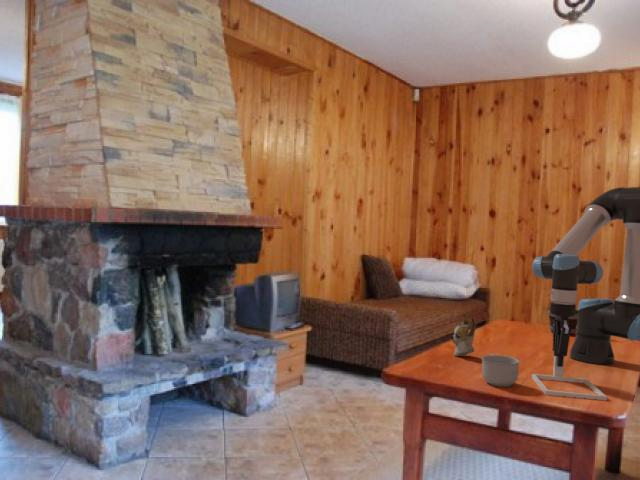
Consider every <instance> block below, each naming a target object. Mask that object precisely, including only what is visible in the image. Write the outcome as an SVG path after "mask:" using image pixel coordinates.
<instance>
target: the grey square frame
mask: <svg viewBox="0 0 640 480" xmlns="http://www.w3.org/2000/svg"><path fill="white" fill-rule="evenodd" d="M531 378H532V380H533V381H534V383H535V384H536V385H537V387H538V388H540V390H541V391H542V392H543V394H544V395H545V396H552V397H553V396H554V397H563V396H566V398H574V397H576V399H584V398H586V399H587V400H588V399H589V400H595V399H597V401H606V400H607V401H608V396H607V395H606V394H605V393H603V391H602V390H600V389H599V388H598V387H597V386H596V385H595V384H593V383H592V382H591V381H590V380H589V379H588V378H582V377H581V378H579V377H572V376H563V377H561V376H554V375H549V374H537V373H532V374H531ZM542 380H545V381H546V380H547V381H556V382H566V381H567V382H569V383H577V382H579V383H580V384H585V385H586V386H587V385H588V386H589V387H588V386H587V387H588V388H589V389H591V390H592V391H593V392H594V393H595V394H592V393H582V392H581V393H580V392H570V391H561V390H553V389H552V390H551V389H548V388H547V387H546V386H545V384H544V383H543V382H542ZM596 393H597V394H598V395H597V394H596Z"/></svg>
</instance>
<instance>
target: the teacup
mask: <svg viewBox="0 0 640 480" xmlns="http://www.w3.org/2000/svg"><path fill="white" fill-rule="evenodd" d="M519 364H520V360H519V359H518V358H516V357H513V356H509V355H501V354H498V355H497V354H496V353H491V354H490V355H485V356H484V355H483V356H482V358H481V372H482V378H483V379H484V381H486V382H487V384H489V385H491V386H495V387H500V388H501V387H502V388H509V387H511V386H513V384H516V382H517V381H518V378H519V366H520V365H519Z"/></svg>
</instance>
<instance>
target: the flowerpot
mask: <svg viewBox="0 0 640 480" xmlns="http://www.w3.org/2000/svg"><path fill="white" fill-rule="evenodd" d="M574 304H575V305H576V304H577V303H574ZM576 306H577V305H576ZM577 310H578V309H576V312H575V316H572V317H571V316H570V317H569V322H570V327H569V328H571V333H570V336H574V335H575V334H576V332H577V317H578V311H577ZM546 314H547V316H548V318H549V325H548V326H549V330H550V332H551V333H552V334H553V324H552V322H553V321H554V320H555V317H556V315H553V314H551V313H550V308H549V309H547V313H546Z"/></svg>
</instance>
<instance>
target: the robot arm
mask: <svg viewBox="0 0 640 480" xmlns="http://www.w3.org/2000/svg"><path fill="white" fill-rule="evenodd" d="M615 220H622V225H623V226H624V227H625V228H626V235H625V245H624V246H625V247H624V253H623V254H624V255H623V263H622V264H623V265H622V273H621V274H622V275H621V281H620V283H621V284H620V291H619V292H620V293H619V295H618V296H617V297H616V298H615V299H613V298H582V299H580V300H579V302H578V301H577V298H578V284H579V285H592V284H596V283H598V282H600V281H601V280H602V278H603V276H604V269H603V267H602V266H601V264H600V263H599V262H597V261H593V260H580V257H579V254H580V252H582V250H583V249H584V248H585V247H586V246H587V245H588V243H589V242H590V241H591V240H592V239H593V238H594V237H595V235H596V234H597V233H598V232H599V231H600V230H601V228H603V227H605V226H607V225H609V224H610V223H611V222H613V221H615ZM531 266H532V267H531V268H532V272H533V275H534V276H535V277H537V278H541V279H545V280H551V281H552V282H551V283H552V284H551V291H549V295H550V300H551V302H550V304H549V305H550V306H549V309H550V313H551V314H553V315H556V317H555V320H554V321H553V322H552V324H553V333H552V352H553V357H554V358H553V369H552V376H561V377H564V371H565V370H564V369H565V357H568V356H567V355H568V351H569V357H570V358H571V359H573V360H576V361H579V362H583V363H590V364H598V365H613V364H614V363H615V353H614V350H613V349H614V348H613V347H612V342H611V336H612V337H617V338H622V339H626V340H629V341H637V342H640V186H638V187H637V186H635V187H634V186H633V187H632V186H631V187H624V186H623V187H615V188H612V189H609V190H607V191H605V192H603V193H601V194H600V195H599V196H597V197H596V198H594V199H593V200H592V201H591V202H589V204H588V205H587V206H586V207H585V209H584V213H583V215H582V216H581V217H580V218H579V219H578V221H577V222H576V223H575V224H574V225H573V226H572V227H571V228H570V230H568V232H567V233H566V234H565V235H564V236H563V237H562V238H561V239H560V240H559V242H558V243H556V245H555V246H554V247H553V249H552V250H551V251H550V252H549V253H548V254H547V255H546V256H544V255H542V256H537V257H535V258H534V260H533V261H532V264H531ZM577 302H578V307H577V305H575V304H577ZM574 303H575V304H574ZM576 310H577V311H578V317H577V326H576V328H577V331H576V333H575V335H576V336H575V338H574V341H573V343H572V345H571V347H570V350H568V349H569V344H570V337H571V335H570V333H571V328H569V327H570V322H569V317H570V316H571V317H572V316H575V312H576Z"/></svg>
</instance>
